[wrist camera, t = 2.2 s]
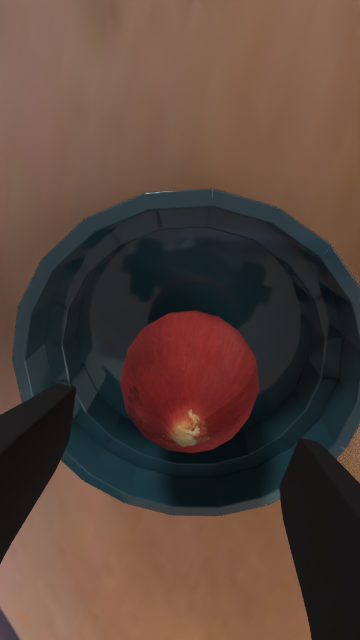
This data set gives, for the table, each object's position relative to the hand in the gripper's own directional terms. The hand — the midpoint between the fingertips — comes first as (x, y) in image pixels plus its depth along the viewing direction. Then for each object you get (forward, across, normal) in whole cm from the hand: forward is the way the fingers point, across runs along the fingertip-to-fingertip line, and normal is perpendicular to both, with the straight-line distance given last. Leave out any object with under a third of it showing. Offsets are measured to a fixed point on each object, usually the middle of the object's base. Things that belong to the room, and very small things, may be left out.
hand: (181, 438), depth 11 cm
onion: (+8, 0, 0) cm, 8 cm away
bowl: (+8, 0, 0) cm, 8 cm away
